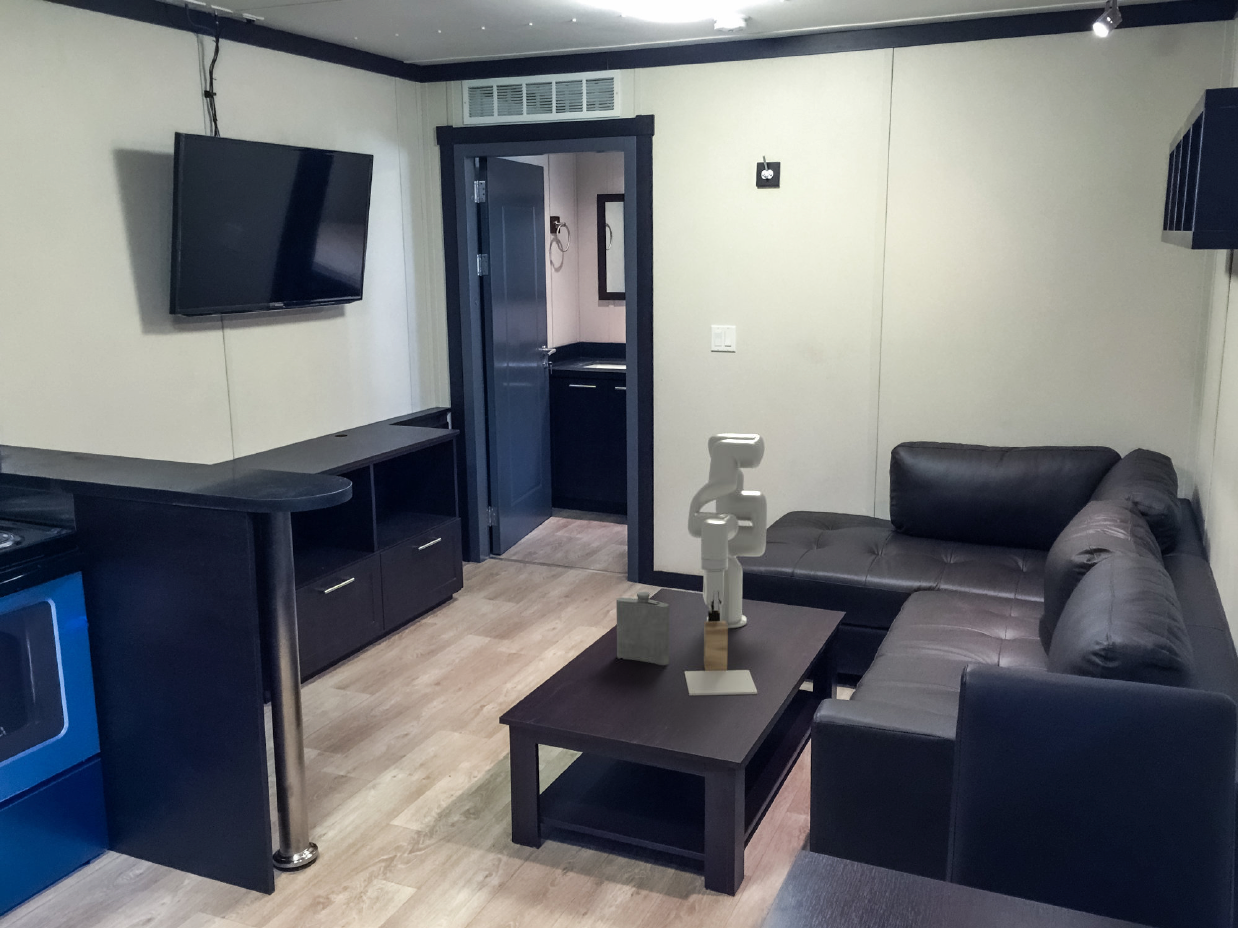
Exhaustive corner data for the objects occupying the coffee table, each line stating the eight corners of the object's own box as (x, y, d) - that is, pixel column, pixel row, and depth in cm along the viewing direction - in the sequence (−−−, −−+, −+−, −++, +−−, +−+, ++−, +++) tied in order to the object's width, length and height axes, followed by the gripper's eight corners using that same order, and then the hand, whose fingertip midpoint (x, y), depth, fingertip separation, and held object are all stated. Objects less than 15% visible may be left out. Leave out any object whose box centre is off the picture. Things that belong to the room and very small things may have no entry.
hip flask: (615, 657, 306) (614, 591, 302) (621, 652, 310) (620, 587, 306) (666, 665, 300) (666, 598, 296) (671, 660, 303) (671, 594, 299)
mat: (684, 673, 294) (684, 671, 294) (748, 671, 295) (748, 669, 295) (689, 695, 280) (689, 693, 279) (757, 693, 280) (757, 691, 280)
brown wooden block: (703, 663, 300) (704, 621, 297) (724, 663, 300) (725, 620, 297) (705, 671, 295) (706, 628, 292) (727, 671, 296) (727, 628, 292)
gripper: (698, 555, 303) (698, 616, 306) (703, 570, 288) (703, 634, 292) (724, 555, 303) (723, 616, 307) (731, 570, 288) (730, 634, 292)
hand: (713, 625), depth 299 cm, fingers closed
